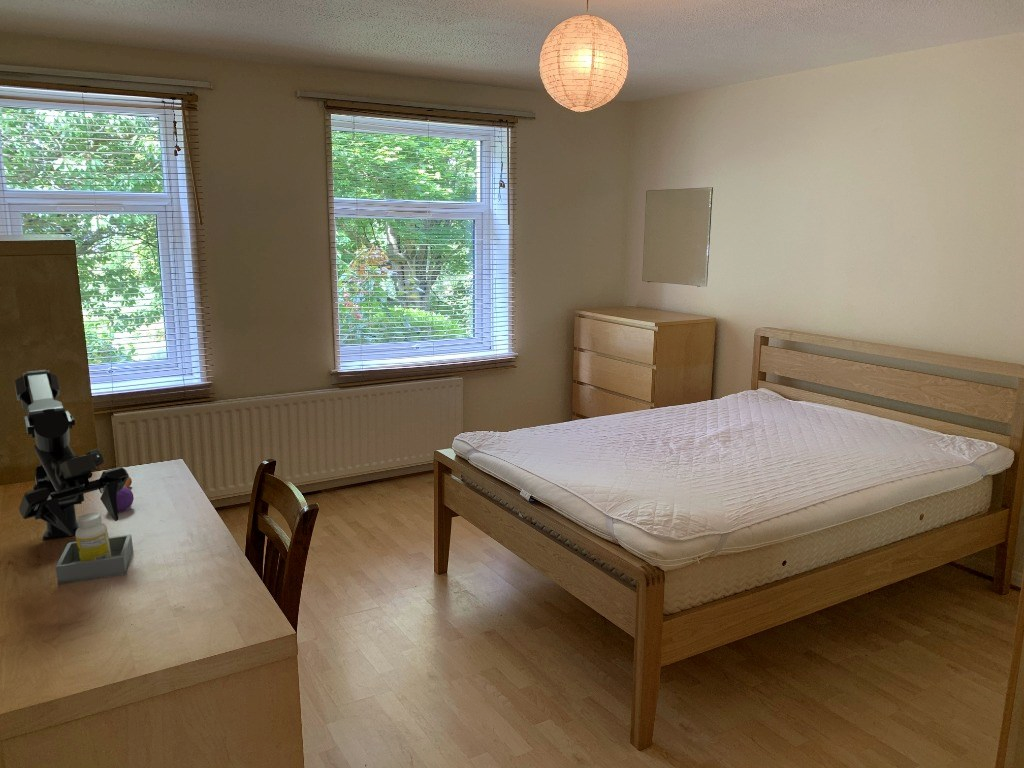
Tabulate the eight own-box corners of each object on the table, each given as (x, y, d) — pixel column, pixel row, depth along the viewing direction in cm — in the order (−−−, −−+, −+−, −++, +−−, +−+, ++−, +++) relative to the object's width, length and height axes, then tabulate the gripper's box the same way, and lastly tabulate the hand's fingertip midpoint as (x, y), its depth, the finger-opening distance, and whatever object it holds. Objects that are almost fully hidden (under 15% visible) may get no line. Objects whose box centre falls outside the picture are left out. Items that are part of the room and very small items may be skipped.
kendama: (138, 470, 193) (133, 490, 174) (136, 493, 193) (131, 515, 175) (112, 469, 190) (104, 489, 172) (110, 493, 191) (102, 514, 172)
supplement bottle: (88, 557, 150) (80, 511, 148) (116, 555, 151) (109, 510, 149) (75, 570, 145) (67, 523, 143) (105, 568, 146) (97, 521, 143)
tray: (70, 558, 152) (68, 542, 151) (133, 550, 155) (131, 534, 154) (58, 584, 141) (55, 567, 140) (125, 574, 145) (123, 557, 144)
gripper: (16, 451, 137) (53, 522, 134) (118, 428, 152) (154, 490, 148) (4, 484, 144) (39, 552, 140) (103, 458, 158) (137, 519, 155)
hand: (95, 527), depth 145 cm, fingers open, 8 cm apart
